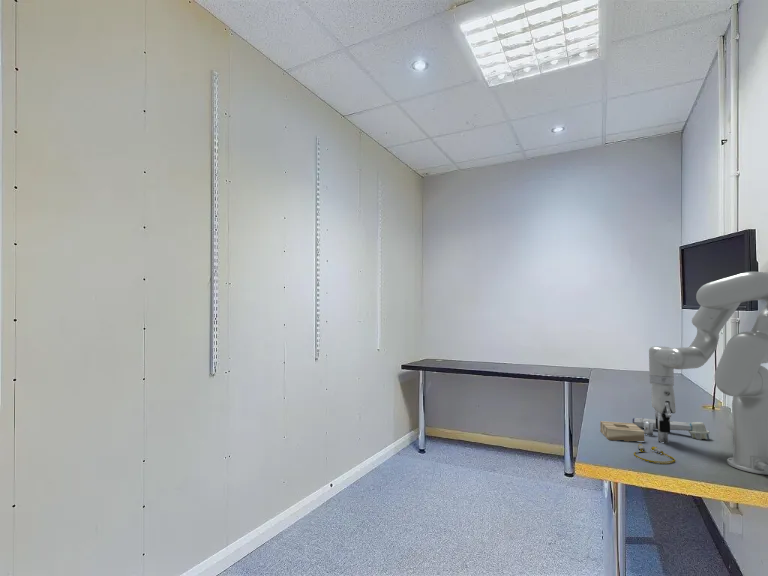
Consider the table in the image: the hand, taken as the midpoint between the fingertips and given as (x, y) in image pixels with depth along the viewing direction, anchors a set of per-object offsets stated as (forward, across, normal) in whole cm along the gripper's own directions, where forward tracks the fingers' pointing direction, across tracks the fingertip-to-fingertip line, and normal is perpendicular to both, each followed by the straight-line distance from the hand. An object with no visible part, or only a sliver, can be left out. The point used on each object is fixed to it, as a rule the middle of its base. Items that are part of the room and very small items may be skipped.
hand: (662, 430), depth 155 cm
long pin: (+4, 0, 0) cm, 4 cm away
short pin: (+4, +9, +2) cm, 10 cm away
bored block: (+4, +3, +13) cm, 14 cm away
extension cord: (+5, -19, +9) cm, 21 cm away
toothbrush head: (+5, +15, -7) cm, 17 cm away
